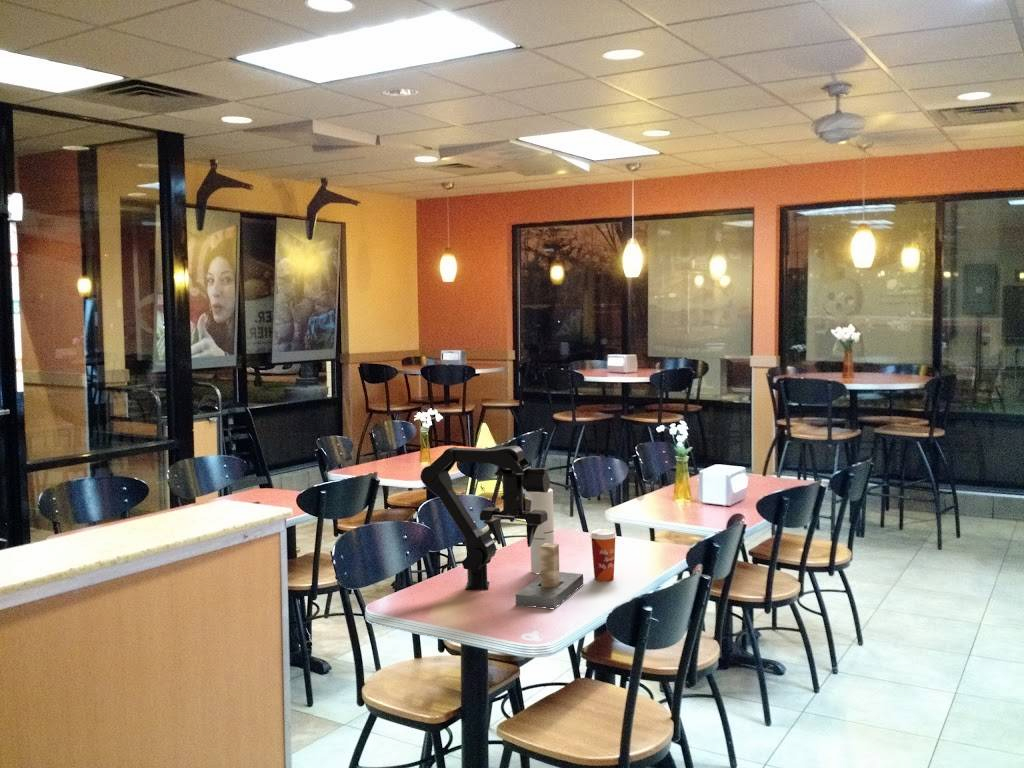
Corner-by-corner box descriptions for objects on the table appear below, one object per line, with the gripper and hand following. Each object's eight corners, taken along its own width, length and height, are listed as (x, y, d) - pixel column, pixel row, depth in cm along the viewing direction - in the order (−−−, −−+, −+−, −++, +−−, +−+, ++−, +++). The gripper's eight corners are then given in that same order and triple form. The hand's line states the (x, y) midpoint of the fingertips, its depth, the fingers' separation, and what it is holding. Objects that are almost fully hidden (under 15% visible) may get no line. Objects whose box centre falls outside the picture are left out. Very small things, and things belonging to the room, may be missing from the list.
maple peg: (541, 595, 255) (540, 546, 254) (546, 591, 258) (545, 543, 257) (554, 597, 253) (553, 547, 252) (559, 593, 257) (558, 544, 256)
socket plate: (515, 605, 247) (515, 594, 247) (547, 580, 269) (547, 570, 269) (554, 609, 243) (553, 598, 242) (583, 584, 265) (583, 574, 264)
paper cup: (604, 584, 264) (603, 536, 263) (585, 578, 270) (584, 531, 269) (623, 578, 269) (622, 531, 268) (604, 573, 275) (603, 527, 274)
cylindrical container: (558, 572, 277) (556, 491, 275) (536, 575, 275) (534, 493, 273) (548, 566, 284) (546, 487, 282) (527, 569, 281) (525, 489, 279)
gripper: (553, 487, 262) (555, 541, 263) (494, 484, 269) (496, 536, 271) (539, 494, 252) (540, 550, 253) (478, 491, 259) (479, 545, 260)
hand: (514, 545), depth 260 cm, fingers open, 9 cm apart
